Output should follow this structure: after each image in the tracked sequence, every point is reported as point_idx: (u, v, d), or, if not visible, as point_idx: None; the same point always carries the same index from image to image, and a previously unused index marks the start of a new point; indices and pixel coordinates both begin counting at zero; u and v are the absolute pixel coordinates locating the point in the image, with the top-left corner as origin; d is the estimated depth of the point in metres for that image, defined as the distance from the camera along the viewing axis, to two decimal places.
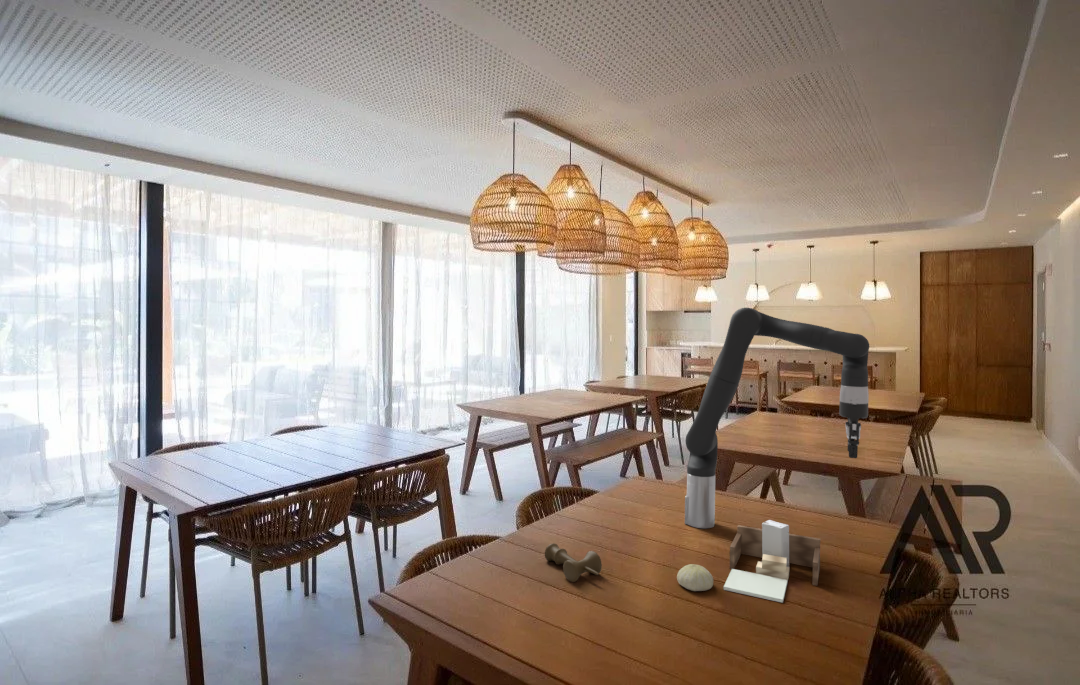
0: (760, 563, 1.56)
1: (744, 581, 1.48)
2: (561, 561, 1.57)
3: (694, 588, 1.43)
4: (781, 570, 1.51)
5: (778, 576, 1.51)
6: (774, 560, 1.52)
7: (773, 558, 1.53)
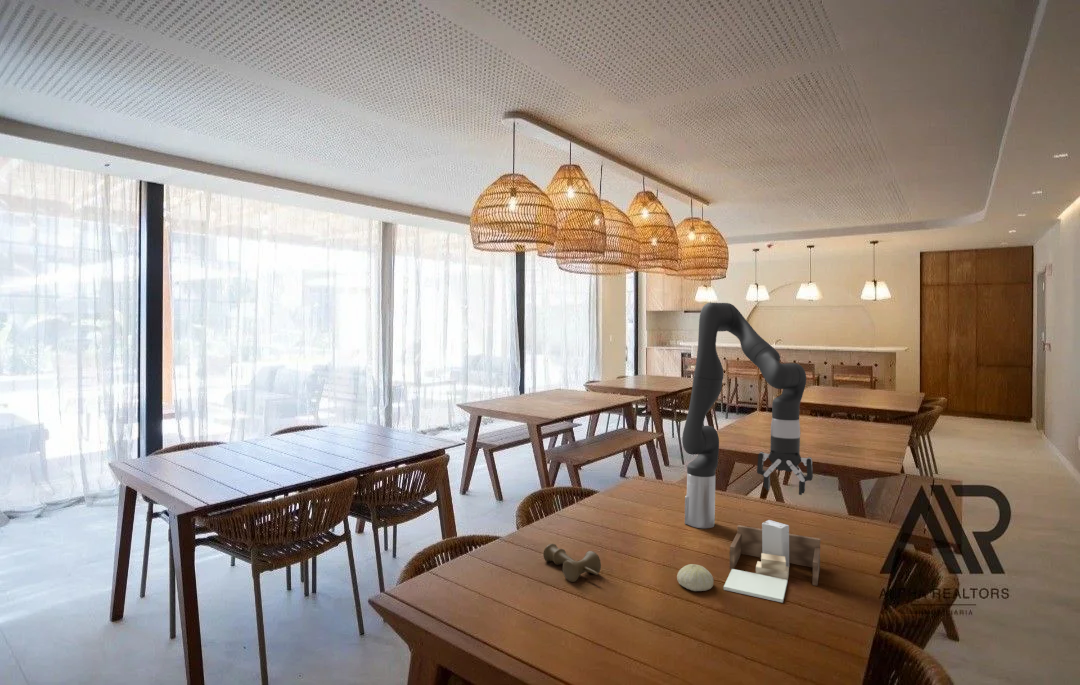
0: (760, 563, 1.56)
1: (744, 581, 1.48)
2: (560, 561, 1.57)
3: (694, 588, 1.43)
4: (780, 569, 1.51)
5: (778, 576, 1.51)
6: (773, 558, 1.53)
7: (772, 557, 1.54)
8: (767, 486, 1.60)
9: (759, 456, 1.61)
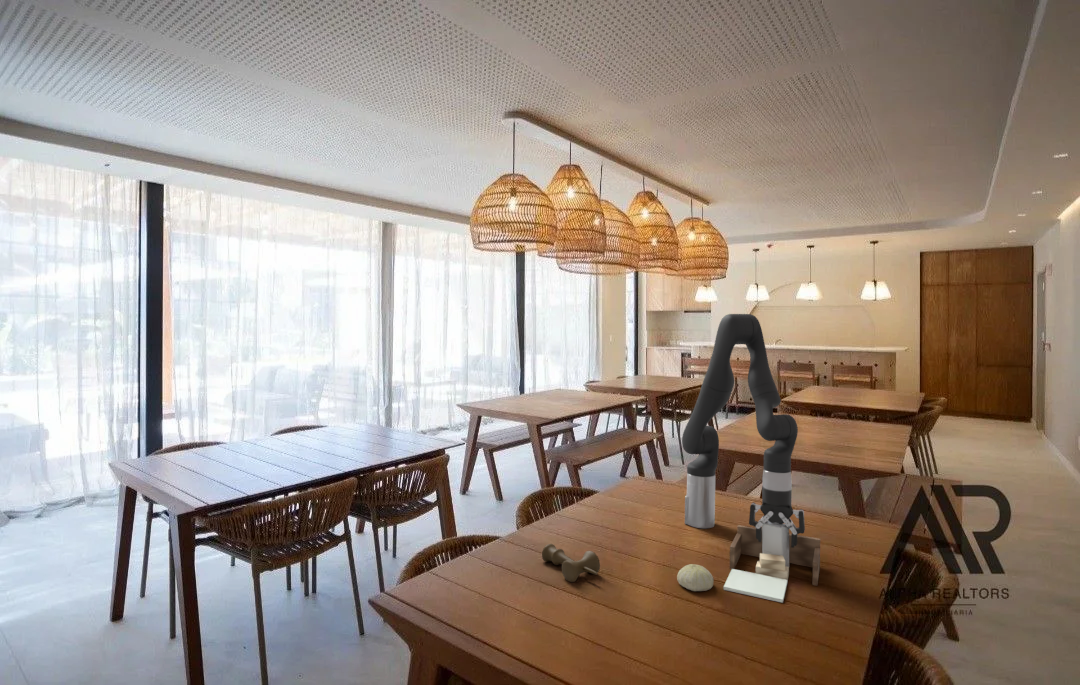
0: None
1: (744, 581, 1.48)
2: (559, 561, 1.57)
3: (695, 588, 1.43)
4: (780, 568, 1.52)
5: (778, 576, 1.51)
6: (773, 558, 1.53)
7: (771, 557, 1.54)
8: (759, 538, 1.59)
9: (751, 507, 1.60)
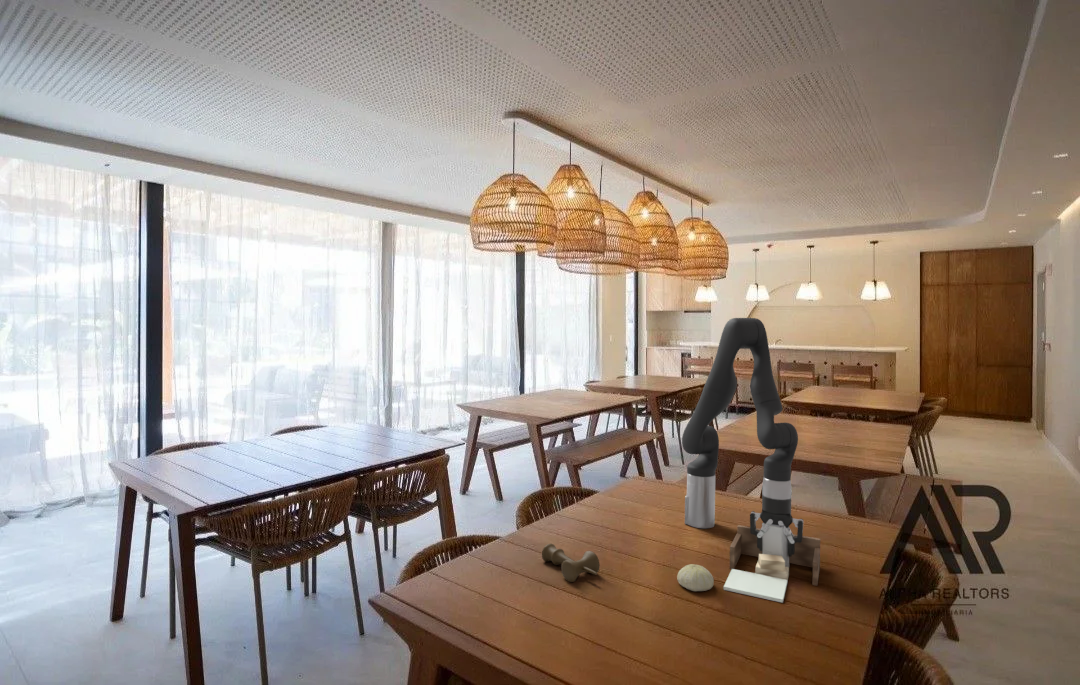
0: None
1: (744, 581, 1.48)
2: (559, 561, 1.57)
3: (695, 588, 1.43)
4: (780, 569, 1.51)
5: (778, 576, 1.51)
6: (772, 559, 1.53)
7: (770, 557, 1.54)
8: (761, 547, 1.60)
9: (751, 516, 1.60)
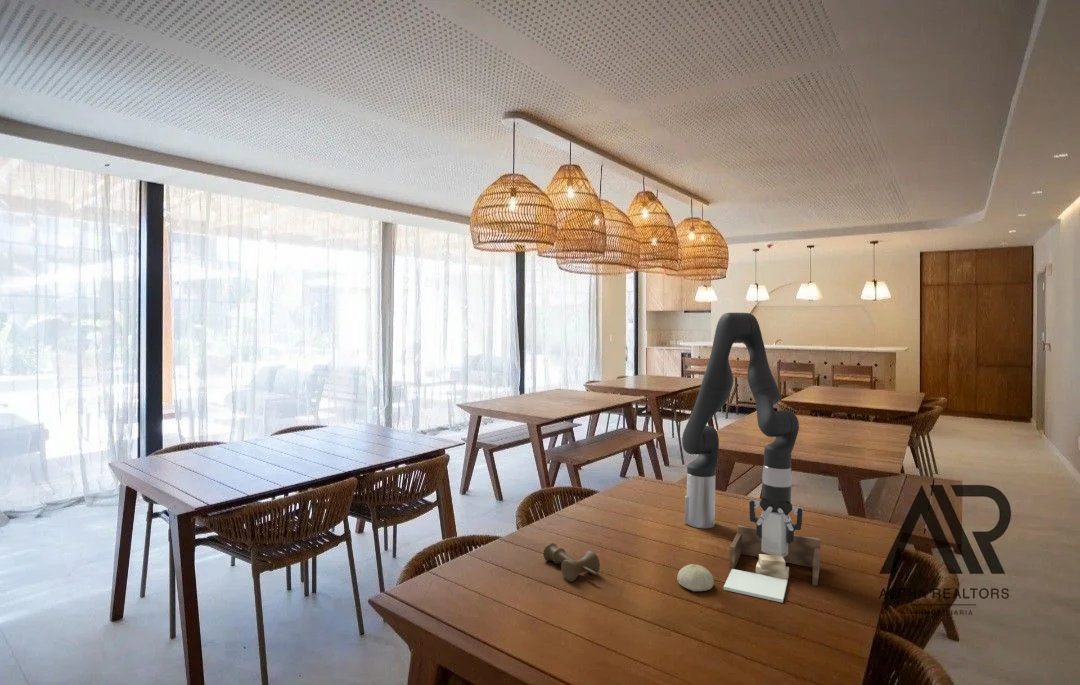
0: None
1: (744, 581, 1.48)
2: (559, 561, 1.57)
3: (695, 588, 1.43)
4: (780, 569, 1.51)
5: (778, 576, 1.51)
6: (773, 559, 1.53)
7: (771, 557, 1.54)
8: (760, 534, 1.60)
9: (750, 504, 1.61)
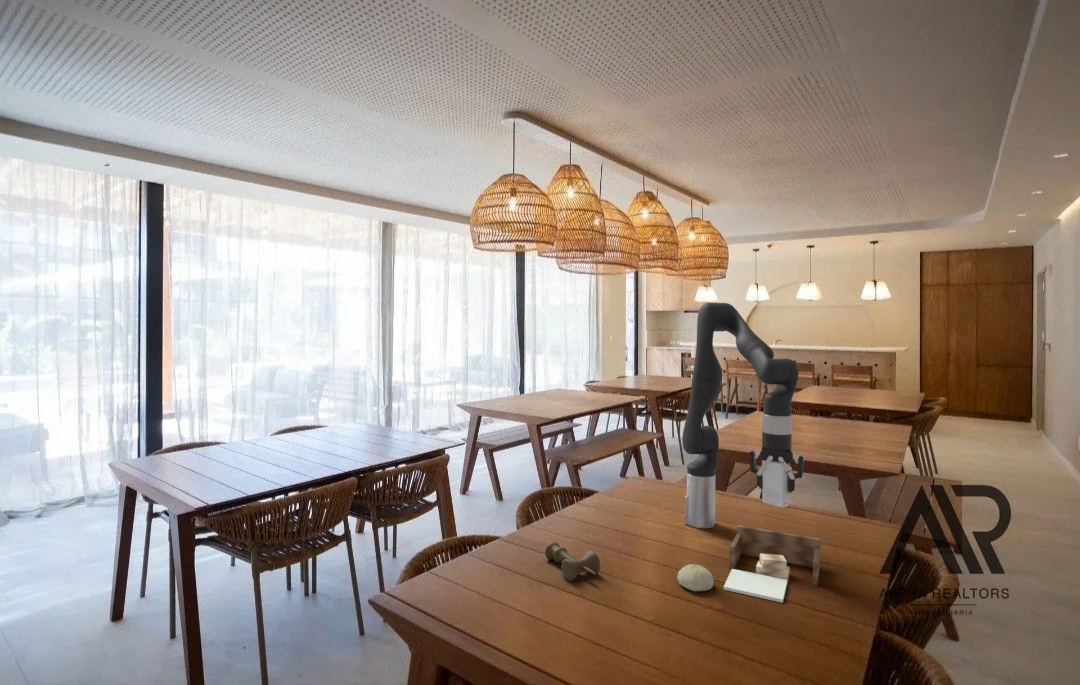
0: None
1: (744, 581, 1.48)
2: (561, 560, 1.58)
3: (695, 588, 1.43)
4: (781, 568, 1.52)
5: (778, 576, 1.51)
6: (774, 558, 1.53)
7: (772, 557, 1.54)
8: (760, 485, 1.58)
9: (751, 454, 1.59)
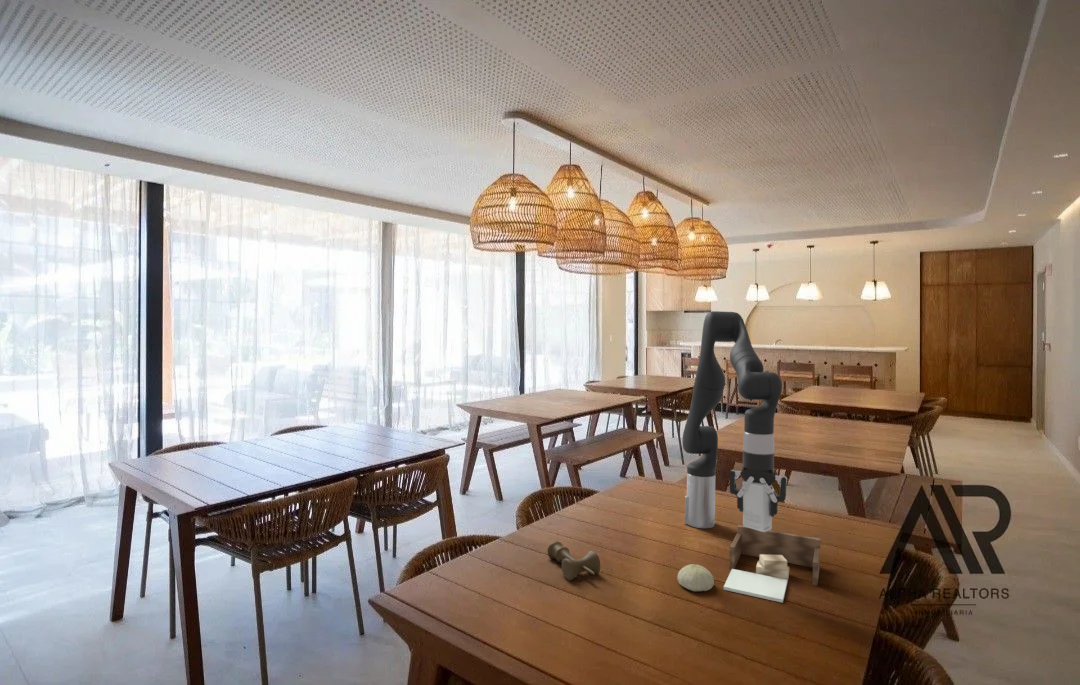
0: None
1: (744, 581, 1.48)
2: (562, 559, 1.58)
3: (695, 588, 1.43)
4: (782, 568, 1.52)
5: (778, 576, 1.51)
6: (774, 558, 1.53)
7: (772, 557, 1.54)
8: (741, 507, 1.47)
9: (730, 474, 1.48)
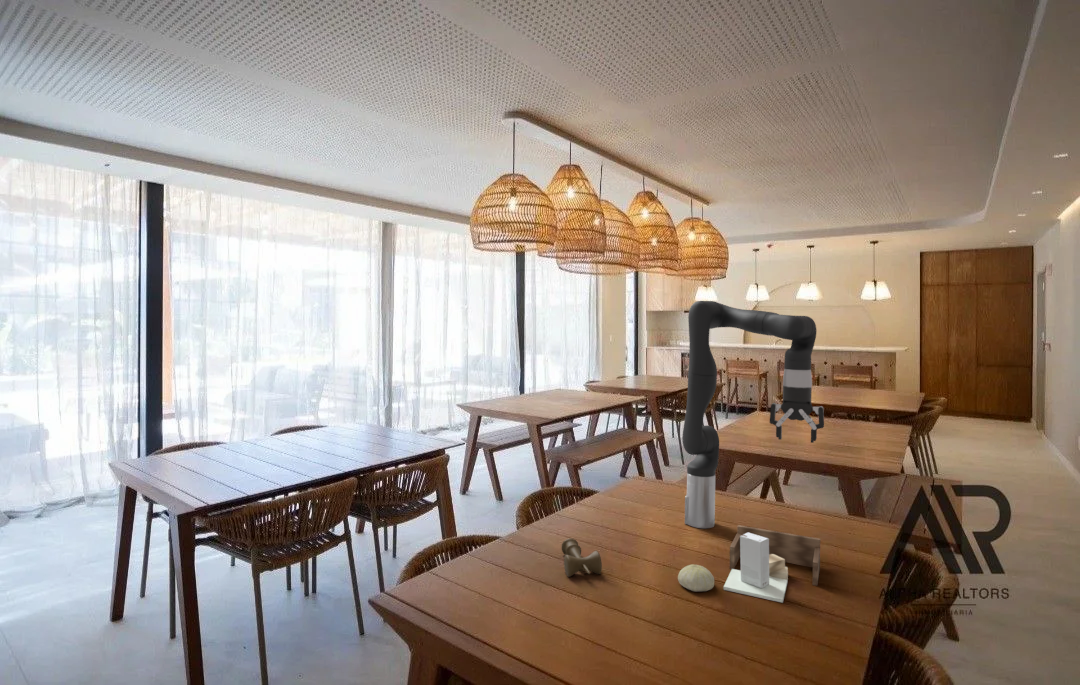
0: None
1: None
2: (571, 556, 1.61)
3: (695, 588, 1.43)
4: (781, 567, 1.52)
5: (778, 577, 1.51)
6: (773, 559, 1.52)
7: (770, 558, 1.53)
8: (779, 435, 1.65)
9: (772, 406, 1.66)
